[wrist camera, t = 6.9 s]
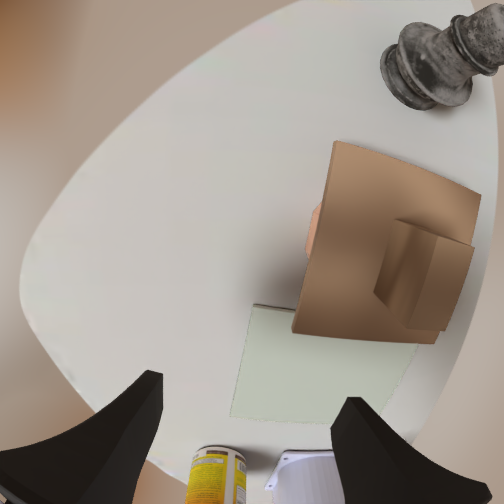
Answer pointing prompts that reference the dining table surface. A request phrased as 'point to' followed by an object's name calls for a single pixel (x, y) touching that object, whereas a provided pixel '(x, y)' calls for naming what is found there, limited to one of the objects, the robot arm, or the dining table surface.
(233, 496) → the supplement bottle
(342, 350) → the sage rubber mat
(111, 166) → the dining table surface
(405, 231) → the walnut lid
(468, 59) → the salt shaker
